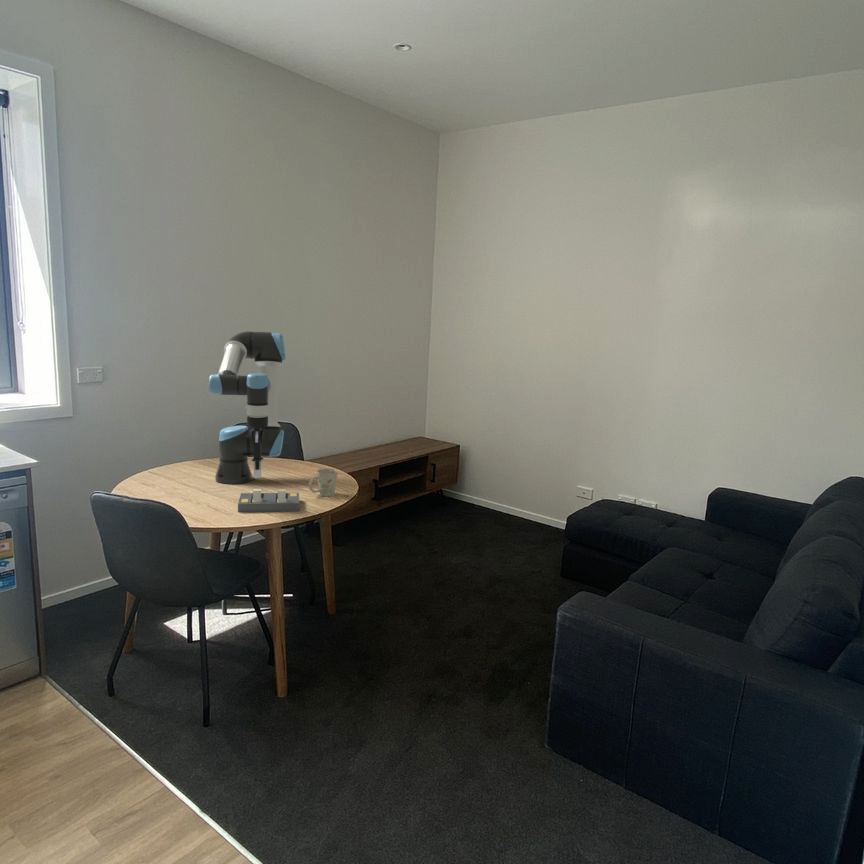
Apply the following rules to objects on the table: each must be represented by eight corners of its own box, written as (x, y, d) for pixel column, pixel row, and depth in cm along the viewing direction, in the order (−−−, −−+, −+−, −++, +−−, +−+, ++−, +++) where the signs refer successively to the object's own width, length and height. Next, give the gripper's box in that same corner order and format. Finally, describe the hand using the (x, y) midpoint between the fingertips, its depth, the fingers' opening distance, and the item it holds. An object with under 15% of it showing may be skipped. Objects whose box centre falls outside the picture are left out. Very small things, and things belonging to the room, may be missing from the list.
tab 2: (277, 502, 233) (277, 489, 232) (285, 502, 234) (286, 488, 233) (277, 506, 229) (277, 491, 228) (285, 506, 230) (286, 491, 229)
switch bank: (241, 500, 239) (241, 492, 238) (298, 499, 243) (299, 492, 243) (237, 511, 225) (237, 503, 225) (299, 510, 230) (299, 502, 229)
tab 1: (252, 502, 232) (252, 488, 231) (261, 502, 233) (261, 488, 232) (252, 505, 228) (252, 491, 227) (261, 505, 229) (261, 491, 228)
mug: (341, 495, 253) (341, 471, 251) (314, 500, 244) (315, 476, 242) (329, 490, 259) (330, 467, 257) (303, 495, 250) (304, 471, 248)
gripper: (248, 412, 232) (248, 472, 237) (245, 418, 219) (245, 482, 224) (268, 412, 234) (268, 472, 238) (267, 419, 221) (267, 482, 226)
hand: (257, 477), depth 231 cm, fingers closed
